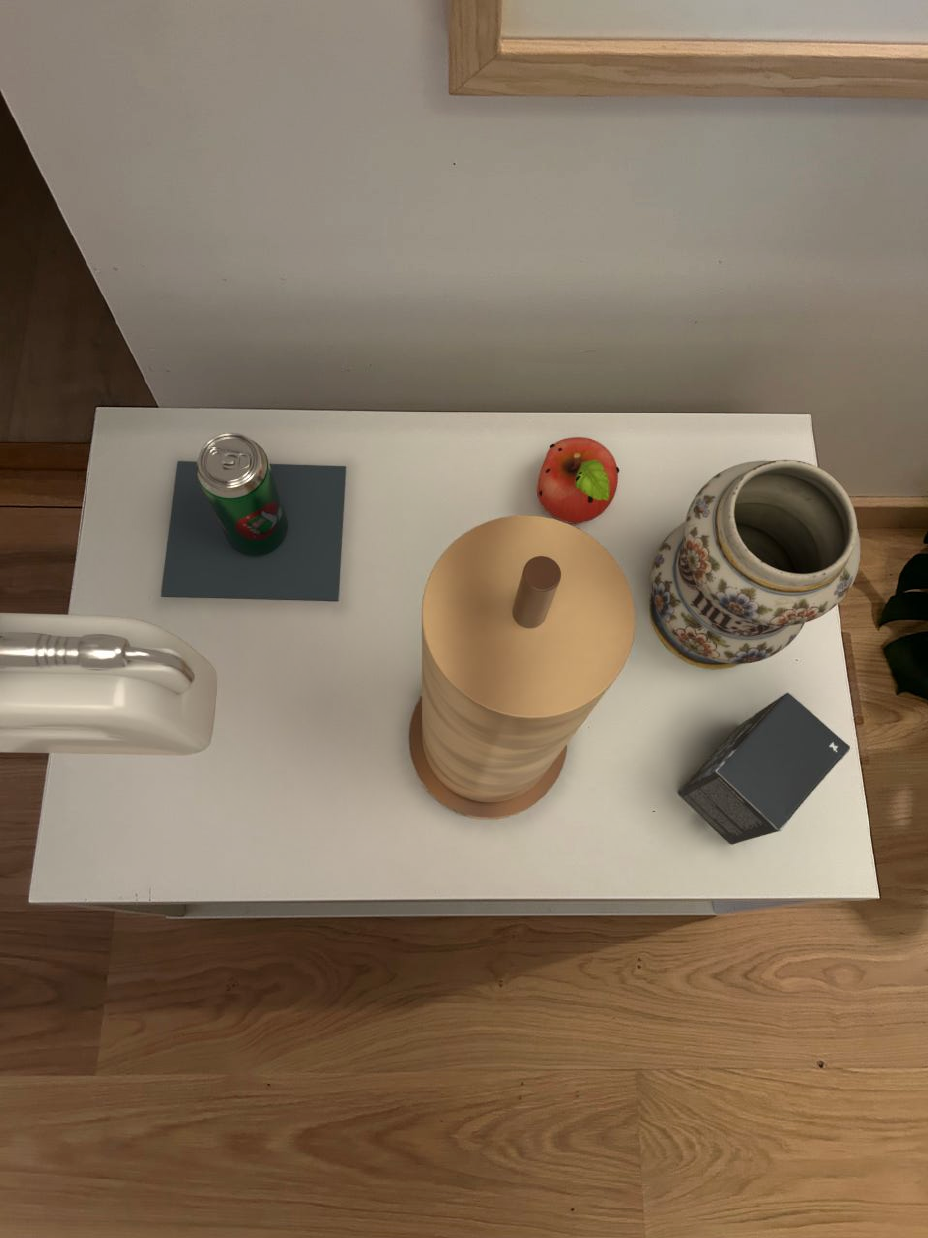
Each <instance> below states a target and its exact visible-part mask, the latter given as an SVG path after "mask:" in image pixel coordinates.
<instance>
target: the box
mask: <svg viewBox="0 0 928 1238" xmlns="http://www.w3.org/2000/svg"><path fill="white" fill-rule="evenodd" d="M850 750H851V747H850V745H849V744H847V743H846V742H845V741H844V740H843V739H842V738H841V737H839V735H837V734H836V733H835V731H833V730H832V729H830V728H829V727H828V726H827V725H826V724H825V722H823V721H821V720H820V718H818V717H817V716H816V715H815V714H814V713H813V712H812V711H810V710H809V709H808V708H807V707H806V706H805V705H804V704H802V702H800V701H799V700H798V699H797V698H796V697H794V696H793V695H792V694H791V693H790V692H785V693H784V694H783V695H780V696H779V697H778V698H777V699H775V700H774V701H772V702H771V703H769V704H768V705H767V706H765V707H764V708H762V709H760V710H759V711H758V712H756V713H755V714H754V715H752V716H750V717H749V718H748V719H747V720H744V721H743V722H742V723H740V724H739V726H737V728H736V729H735V730H734V731H733V732H732V734H731V735H729V736H728V737H727V739H726V740H725V741H724V742H723V743H722V744H721V745H720V746H719V748H718V749H716V751H714V753H713V754H712V755H711V756H710V757H709V758H708V759H707V760H706V762H705V763H703V764H702V766H701V767H700V768H699V769H698V770H697V772H696V773H695V774H694V775H693V776H691V777H690V778H689V780H688V781H687V782H686V783H685V784H684V785H683V786H682V787H681V788H680V789H679V790H678V792H677V794H678V796H679V797H680V798H681V799H682V800H684V801H685V802H686V803H687V804H688V806H689V807H691V808H692V809H693V810H694V811H695V812H696V813H697V814H698V815H699V816H700V817H701V818H702V819H703V820H704V821H705V822H706V823H707V824H708V825H709V826H711V827H712V829H713V830H714V831H715V832H716V833H717V834H719V835H720V836H721V837H722V838H723V840H725V841H726V843H728V844H729V845H732V846H733V845H735V844H739V843H742V842H746V841H749V840H752V839H757V838H760V837H764V836H767V835H771V834H774V833H778V832H782V831H783V829H784V828H785V826H786V825H787V824H788V822H789V821H790V820H791V818H792V817H793V816H794V814H795V813H796V812H797V811H798V810H799V809H800V807H801V806H802V805H803V804H804V803H805V802H806V801H807V799H808V798H809V797H810V795H811V794H812V793H813V792H814V791H815V790H816V789H817V787H818V786H819V785H821V783H822V781H824V779H825V778H826V777H827V776H828V774H830V773H831V772H832V771H833V769H834V768H835V767H836V766H837V765H838V764H839V763H840V761H841V760H842V759H843V758H844V757H845V756H846V755H847V754H848V753H849V752H850Z"/></svg>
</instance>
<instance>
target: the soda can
mask: <svg viewBox="0 0 928 1238" xmlns="http://www.w3.org/2000/svg"><path fill="white" fill-rule="evenodd" d="M196 462H197V464H196V475H197V478H198V481H199V483H200V485H201V487H202V489H203V491H204V493H205V495H206V497H207V499H208V502H209V504H210V506H211V508H212V510H213V512H214V514H215V516H216V518H217V520H218V522H219V524H220V526H221V528H222V530H223V532H224V534H225V536H226V538H227V540H228V542H229V544H230V545H231V546H232V547H233V548H234V549H235V550H236V551H238V552H240V553H242V554H245V555H248V556H261V555H265V554H268V553H270V552H272V551H274V550H275V549H277V548H278V547H279V546H280V545H281V544H282V542H283V541H284V539H285V537H286V534H287V530H288V522H287V518H286V515H285V512H284V508H283V505H282V502H281V499H280V496H279V493H278V490H277V487H276V484H275V481H274V477H273V474H272V471H271V468H270V465H269V464H270V462H269V459H268V456H267V453H266V452H265V450H264V449H263V447H262V446H261V445H260V444H259V443H258V442H256V441H255V440H253V439H252V438H249V437H248V436H246V435H244V434H241V433H239V432H237V433H236V432H224V433H221V434H218V435H216V436H213V437H212V438H209V440H208V441H206V443H204V445H203V447H202V448H201V450H200V451H199V454H198V458H197V461H196Z"/></svg>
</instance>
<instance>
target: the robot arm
mask: <svg viewBox="0 0 928 1238" xmlns="http://www.w3.org/2000/svg"><path fill="white" fill-rule="evenodd" d="M217 694H218V675H217V670H216V669H215V667H214V665H213V664H212V663H211V662H210V660H208V659H207V658H206V657H205V656H204V655H203V654H202V653H201V652H199V651H198V650H197V649H196V648H194V647H193V646H192V645H190V644H189V643H188V642H186V641H184V640H183V639H182V638H180V637H179V636H177V634H174V633H173V632H171V631H170V630H168V629H166V628H163V627H162V626H159V625H157V624H154V623H151V622H148V621H145V620H141V619H136V618H131V617H122V616H113V615H103V614H102V615H100V614H99V615H97V614H61V613H60V614H56V613H18V612H0V753H23V754H24V753H25V754H26V753H29V754H72V755H73V754H77V755H128V756H129V755H130V756H131V755H132V756H133V755H134V756H174V757H175V756H177V757H179V756H180V757H181V756H182V757H183V756H190V755H191V756H192V755H195V754H199V753H201V752H204V751H205V750H207V749H208V747H210V745H211V741H212V737H213V732H214V726H215V717H216V716H215V715H216V710H217V709H216V708H217Z"/></svg>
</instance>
